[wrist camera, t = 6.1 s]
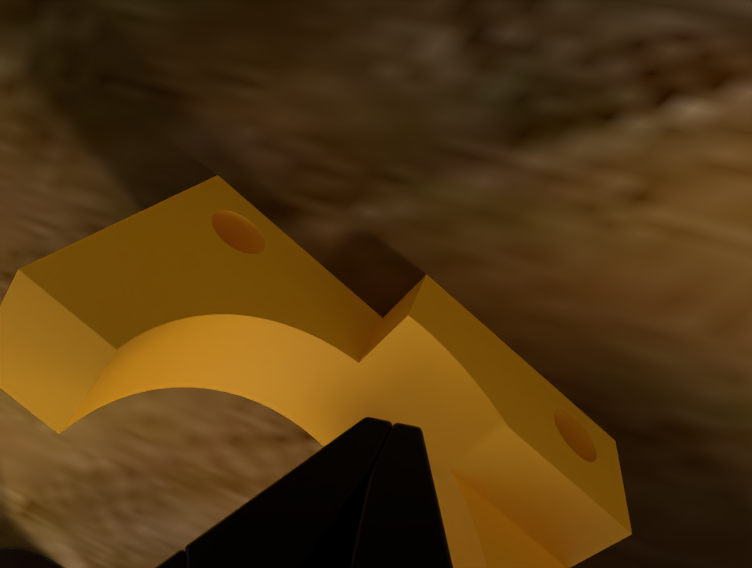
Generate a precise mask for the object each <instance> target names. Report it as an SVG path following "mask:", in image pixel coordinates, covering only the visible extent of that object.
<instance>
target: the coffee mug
mask: <svg viewBox="0 0 752 568" xmlns="http://www.w3.org/2000/svg"><path fill="white" fill-rule="evenodd" d="M0 568H61V567H60V566H58V565H57V564H55V563H53V562H51V561H49V560H47V559H46V558H44V557H41V556H39V555H36V554H34V553H31V552H28V551H24V550H20V549H12V548H3V549H0Z"/></svg>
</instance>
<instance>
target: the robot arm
mask: <svg viewBox="0 0 752 568" xmlns="http://www.w3.org/2000/svg"><path fill="white" fill-rule="evenodd" d="M155 568H453V564H452V560H451V555H450V551H449V547H448V542H447V538H446V533H445V529H444V524H443V520H442V516H441V511H440V507H439V502H438V498H437V493H436V489H435V485H434V480H433V476H432V471H431V467H430V462H429V458H428V454H427V449H426V445H425V440H424V436H423V432H422V429H421V428H420V427H418V426H413V425H408V424H403V423H395V424H394V425H392V423H391V422H390V421H388V420H383V419H378V418H373V417H365V418H363V419H362V420H360V421H359V422H357V423H356V424H355V425H353V426H352V427H350V428H349V429H348V430H346V431H345V432H344V433H342V434H341V435H339V436H338V437H337V438H335V439H334V440H332V441H331V442H330V443H328V444H327V445H325V446H324V447H323V448H321V449H320V450H318V451H317V452H316V453H314V454H313V455H312V456H310V457H309V458H307V459H306V460H305V461H303V462H302V463H300V464H299V465H298V466H296V467H295V468H293V469H292V470H291V471H289V472H288V473H286V474H285V475H284V476H282V477H281V478H280V479H278V480H277V481H275V482H274V483H273V484H271V485H270V486H268V487H267V488H266V489H264V490H263V491H261V492H260V493H259V494H257V495H256V496H254V497H253V498H252V499H250V500H249V501H248V502H246V503H245V504H243V505H242V506H241V507H239V508H238V509H236V510H235V511H234V512H232V513H231V514H229V515H228V516H227V517H225V518H224V519H222V520H221V521H220V522H218V523H217V524H216V525H214V526H213V527H211V528H210V529H209V530H207V531H206V532H204V533H203V534H202V535H200V536H199V537H197V538H196V539H195V540H193V541H192V542H190V543H189V544H188V545H186V547H185V551H184V550H179V551H178V552H176V553H175V554H173V555H172V556H171V557H169V558H168V559H166V560H165V561H164V562H162V563H161V564H159V565H158V566H157V567H155Z"/></svg>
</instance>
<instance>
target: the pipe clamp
mask: <svg viewBox="0 0 752 568" xmlns="http://www.w3.org/2000/svg"><path fill="white" fill-rule="evenodd" d="M172 387H194V388H206V389H213V390H218V391H223V392H228V393H231V394H235V395H239V396H242V397H245V398H248V399H250V400H253V401H255V402H258V403H260V404H262V405H264V406H267V407H269V408H271V409H273V410H275V411H277V412H278V413H280V414H282V415H283V416H285V417H287V418H288V419H290V420H291V421H293V422H294V423H296V424H297V425H298V426H300V427H301V428H303V429H304V430H305V431H307V432H308V433H309V434H310V435H311V436H313V437H314V438H315V439H316V440H317V441H318V442H319V443H320V444H321V445H322V446H325V445H327V444H328V443H330V442H331V441H332V440H334V439H335V438H337V437H338V436H339V435H341V434H342V433H344V432H345V431H346V430H348V429H349V428H350V427H352V426H353V425H355V424H356V423H357V422H359V421H360V420H362V419H363V418H365V417H373V418H378V419H383V420H388V421H390V422H391V423H392V425H394V424H395V423H403V424H408V425H413V426H418V427H420V428H421V429H422V432H423V436H424V440H425V445H426V449H427V454H428V458H429V462H430V467H431V471H432V476H433V480H434V485H435V489H436V493H437V498H438V502H439V507H440V511H441V516H442V520H443V524H444V529H445V533H446V538H447V542H448V547H449V551H450V555H451V560H452V564H453V568H570V567H572V566H574V565H576V564H578V563H580V562H581V561H583V560H585V559H587V558H589V557H591V556H593V555H595V554H596V553H598V552H600V551H602V550H604V549H606V548H608V547H609V546H611V545H613V544H615V543H617V542H619V541H621V540H622V539H624V538H626V537H628V536H630V535H632V530H631V524H630V519H629V513H628V508H627V502H626V497H625V491H624V486H623V480H622V474H621V469H620V463H619V458H618V452H617V447H616V441H615V440H614V439H613V438H612V437H611V436H609V435H608V434H607V433H606V432H605V431H604V430H603V429H602V428H600V427H599V426H598V425H597V424H596V423H595V422H594V421H592V420H591V419H590V418H589V417H588V416H587V415H586V414H585V413H583V412H582V411H581V410H580V409H579V408H578V407H577V406H575V405H574V404H573V403H572V402H571V401H570V400H569V399H568V398H566V397H565V396H564V395H563V394H562V393H561V392H560V391H558V390H557V389H556V388H555V387H554V386H553V385H552V384H551V383H549V382H548V381H547V380H546V379H545V378H544V377H543V376H541V375H540V374H539V373H538V372H537V371H536V370H535V369H534V368H532V367H531V366H530V365H529V364H528V363H527V362H526V361H524V360H523V359H522V358H521V357H520V356H519V355H518V354H517V353H515V352H514V351H513V350H512V349H511V348H510V347H509V346H507V345H506V344H505V343H504V342H503V341H502V340H501V339H500V338H498V337H497V336H496V335H495V334H494V333H493V332H492V331H490V330H489V329H488V328H487V327H486V326H485V325H484V324H483V323H481V322H480V321H479V320H478V319H477V318H476V317H475V316H473V315H472V314H471V313H470V312H469V311H468V310H467V309H466V308H464V307H463V306H462V305H461V304H460V303H459V302H458V301H456V300H455V299H454V298H453V297H452V296H451V295H450V294H449V293H447V292H446V291H445V290H444V289H443V288H442V287H441V286H439V285H438V284H437V283H436V282H435V281H434V280H433V279H432V278H430V277H429V276H428V275H427V274H426V275H425V276H424V277H423V278H422V279H421V280H420V281H419V282H418V283H417V284H416V285H415V286H414V287H413V288H412V289H411V290H410V291H409V292H408V293H407V294H406V295H405V296H404V297H403V298H402V299H401V300H400V301H399V302H398V303H397V304H396V305H395V306H394V307H393V308H392V309H391V310H390V311H389V312H388V313H387V314H386V315H385V316H384V317H383V318H382V317H381V316H380V315H379V314H377V313H376V312H375V311H374V310H373V309H372V308H371V307H369V306H368V305H367V304H366V303H365V302H364V301H363V300H361V299H360V298H359V297H358V296H357V295H356V294H354V293H353V292H352V291H351V290H350V289H349V288H348V287H346V286H345V285H344V284H343V283H342V282H341V281H339V280H338V279H337V278H336V277H335V276H334V275H333V274H331V273H330V272H329V271H328V270H327V269H326V268H324V267H323V266H322V265H321V264H320V263H319V262H318V261H316V260H315V259H314V258H313V257H312V256H311V255H309V254H308V253H307V252H306V251H305V250H304V249H303V248H301V247H300V246H299V245H298V244H297V243H296V242H294V241H293V240H292V239H291V238H290V237H289V236H288V235H286V234H285V233H284V232H283V231H282V230H281V229H279V228H278V227H277V226H276V225H275V224H274V223H273V222H271V221H270V220H269V219H268V218H267V217H266V216H264V215H263V214H262V213H261V212H260V211H259V210H258V209H256V208H255V207H254V206H253V205H252V204H251V203H249V202H248V201H247V200H246V199H245V198H244V197H243V196H241V195H240V194H239V193H238V192H237V191H236V190H234V189H233V188H232V187H231V186H230V185H229V184H228V183H226V182H225V181H224V180H223V179H222V178H221V177H219V176H218V175H217V176H215V177H212V178H210V179H208V180H206V181H204V182H202V183H200V184H198V185H196V186H193V187H191V188H189V189H187V190H185V191H183V192H181V193H179V194H176V195H174V196H172V197H170V198H168V199H166V200H164V201H162V202H160V203H157V204H155V205H153V206H151V207H149V208H147V209H145V210H143V211H140V212H138V213H136V214H134V215H132V216H130V217H128V218H126V219H124V220H121V221H119V222H117V223H115V224H113V225H111V226H109V227H107V228H105V229H102V230H100V231H98V232H96V233H94V234H92V235H90V236H88V237H85V238H83V239H81V240H79V241H77V242H75V243H73V244H71V245H69V246H66V247H64V248H62V249H60V250H58V251H56V252H54V253H52V254H50V255H47V256H45V257H43V258H41V259H39V260H37V261H35V262H33V263H30V264H28V265H26V266H24V267H22V268H20V269H18V271H17V273H16V275H15V277H14V279H13V281H12V283H11V285H10V287H9V289H8V291H7V293H6V295H5V297H4V299H3V301H2V303H1V305H0V388H1V389H2V390H3V391H5V392H6V393H7V394H9V395H10V396H11V397H12V398H14V399H15V400H16V401H17V402H19V403H20V404H21V405H22V406H24V407H25V408H26V409H27V410H29V411H30V412H31V413H32V414H34V415H35V416H36V417H37V418H39V419H40V420H41V421H43V422H44V423H45V424H46V425H48V426H49V427H50V428H51V429H53V430H54V431H55V432H56V433H58V434H60V433H61V432H63V431H64V430H65V429H67V428H68V427H69V426H71V425H72V424H73V423H74V422H76V421H77V420H79V419H80V418H82V417H84V416H85V415H87V414H89V413H90V412H92V411H94V410H95V409H97V408H99V407H102V406H104V405H106V404H108V403H110V402H112V401H115V400H117V399H120V398H123V397H126V396H129V395H132V394H136V393H140V392H145V391H149V390H154V389H163V388H172Z"/></svg>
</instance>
